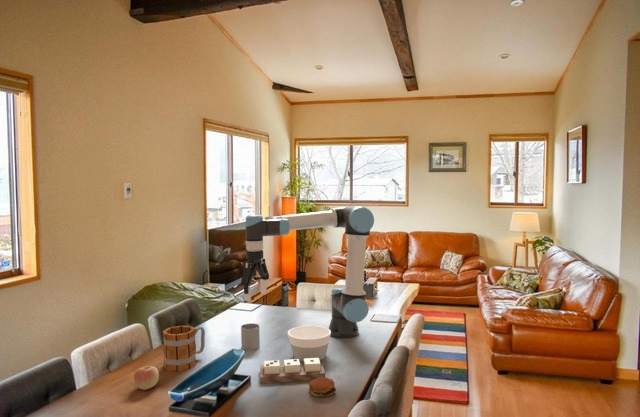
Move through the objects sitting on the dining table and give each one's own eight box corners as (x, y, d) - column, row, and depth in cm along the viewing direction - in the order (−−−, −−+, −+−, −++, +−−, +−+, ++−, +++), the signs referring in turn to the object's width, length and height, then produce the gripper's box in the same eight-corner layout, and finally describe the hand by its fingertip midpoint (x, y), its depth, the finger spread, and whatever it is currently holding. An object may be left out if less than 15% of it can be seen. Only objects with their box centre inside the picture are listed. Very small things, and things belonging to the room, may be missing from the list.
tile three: (279, 368, 194) (279, 359, 194) (279, 374, 188) (279, 365, 188) (264, 369, 193) (263, 360, 193) (264, 375, 187) (264, 366, 187)
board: (321, 367, 199) (321, 361, 199) (325, 379, 187) (325, 373, 187) (260, 371, 196) (260, 365, 196) (260, 383, 184) (260, 377, 184)
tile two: (299, 367, 195) (298, 358, 195) (300, 373, 189) (300, 364, 189) (284, 368, 194) (284, 359, 194) (284, 374, 188) (284, 365, 188)
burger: (304, 391, 177) (304, 379, 177) (324, 385, 183) (324, 373, 182) (319, 401, 169) (319, 388, 169) (340, 394, 175) (340, 381, 174)
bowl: (336, 350, 219) (336, 327, 218) (323, 366, 200) (322, 341, 200) (297, 346, 225) (297, 323, 224) (280, 361, 207) (280, 336, 206)
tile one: (318, 366, 196) (318, 357, 196) (320, 372, 190) (320, 362, 190) (303, 367, 195) (303, 358, 195) (305, 373, 189) (305, 363, 189)
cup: (256, 351, 219) (255, 329, 219) (239, 350, 221) (238, 328, 220) (262, 344, 228) (261, 323, 227) (245, 343, 229) (244, 323, 229)
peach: (135, 394, 176) (134, 373, 176) (134, 385, 184) (133, 364, 184) (160, 390, 180) (159, 369, 179) (158, 381, 188) (157, 361, 187)
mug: (175, 374, 194) (174, 337, 193) (156, 366, 203) (155, 331, 202) (214, 359, 210) (213, 325, 209) (195, 352, 218) (194, 320, 217)
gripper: (261, 245, 227) (263, 290, 228) (231, 253, 204) (232, 303, 205) (275, 246, 224) (276, 291, 225) (246, 254, 201) (247, 304, 202)
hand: (255, 297), depth 215 cm, fingers open, 13 cm apart
